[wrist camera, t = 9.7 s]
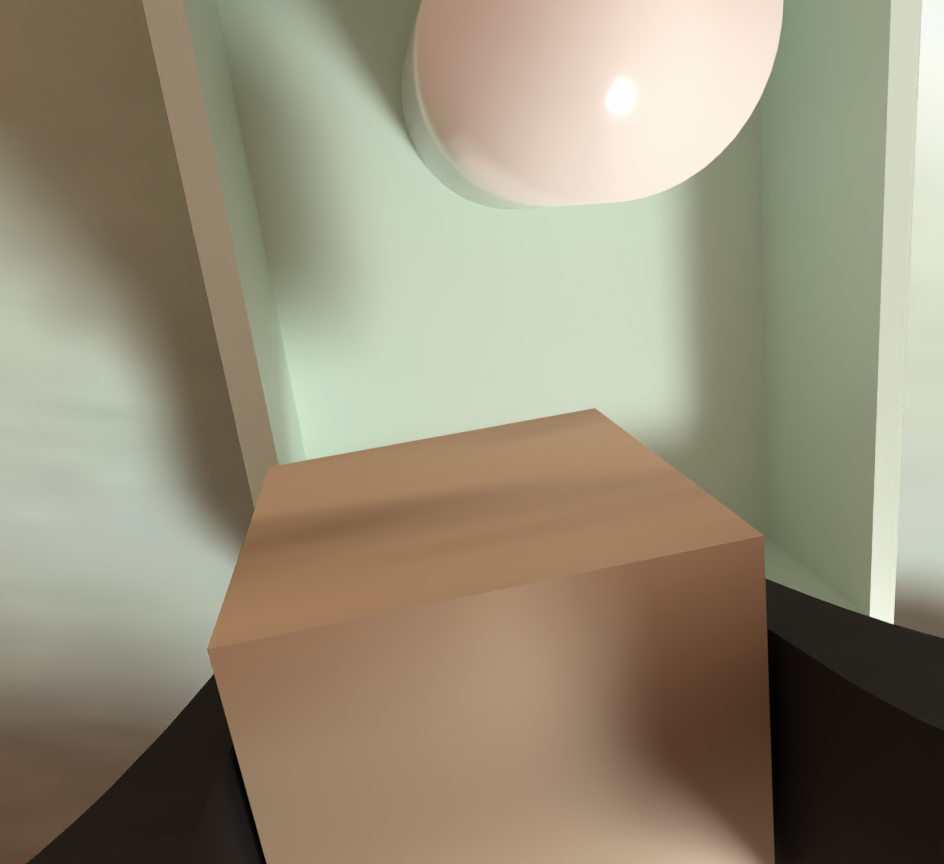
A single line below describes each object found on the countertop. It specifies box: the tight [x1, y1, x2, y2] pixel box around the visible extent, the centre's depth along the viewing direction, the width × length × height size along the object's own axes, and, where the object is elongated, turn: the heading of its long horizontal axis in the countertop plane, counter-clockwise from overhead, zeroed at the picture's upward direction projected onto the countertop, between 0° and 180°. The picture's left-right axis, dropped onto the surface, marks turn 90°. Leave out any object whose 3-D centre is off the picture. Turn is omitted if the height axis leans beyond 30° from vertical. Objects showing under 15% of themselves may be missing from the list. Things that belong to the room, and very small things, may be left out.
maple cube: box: [207, 408, 775, 864], centre depth 10 cm, size 5×5×5 cm
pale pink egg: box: [400, 0, 784, 210], centre depth 14 cm, size 5×5×7 cm
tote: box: [142, 0, 922, 624], centre depth 16 cm, size 17×13×5 cm
